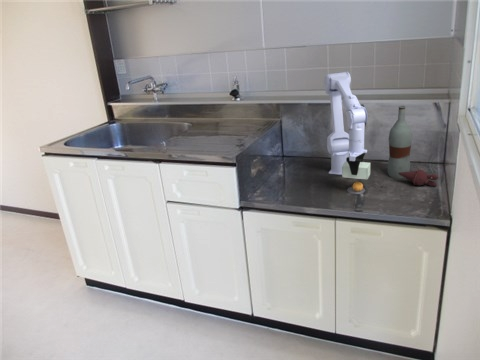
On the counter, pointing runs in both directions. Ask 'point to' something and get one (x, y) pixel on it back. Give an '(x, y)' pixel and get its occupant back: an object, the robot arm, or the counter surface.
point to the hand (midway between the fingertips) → (356, 171)
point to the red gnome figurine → (419, 177)
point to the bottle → (399, 146)
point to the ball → (357, 186)
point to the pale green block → (362, 171)
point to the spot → (355, 191)
